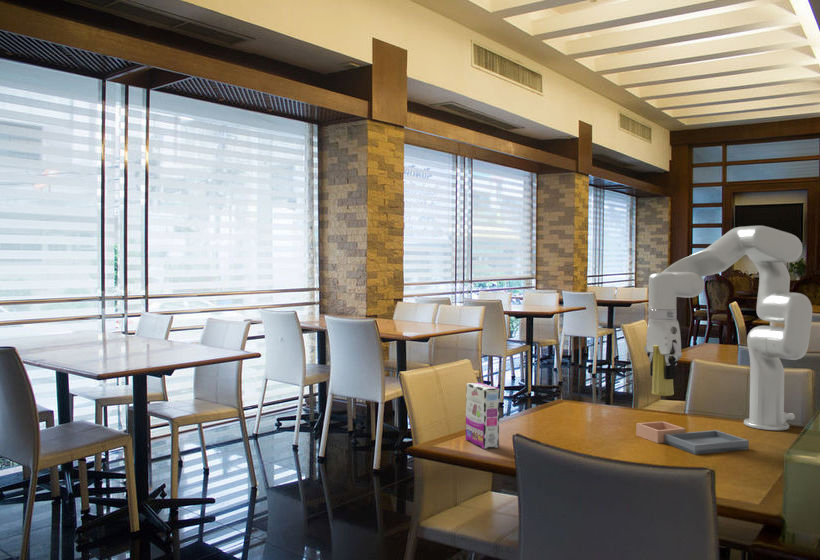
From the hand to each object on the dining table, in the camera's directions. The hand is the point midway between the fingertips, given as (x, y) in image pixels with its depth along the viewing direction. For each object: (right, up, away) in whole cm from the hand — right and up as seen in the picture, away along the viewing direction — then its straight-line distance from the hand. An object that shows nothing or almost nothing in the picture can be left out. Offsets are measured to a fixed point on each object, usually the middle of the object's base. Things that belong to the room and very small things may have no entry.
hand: (662, 376), depth 194 cm
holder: (-1, -18, 0) cm, 18 cm away
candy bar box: (-54, -18, -8) cm, 57 cm away
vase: (0, -5, 0) cm, 5 cm away
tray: (+9, -18, -9) cm, 22 cm away
